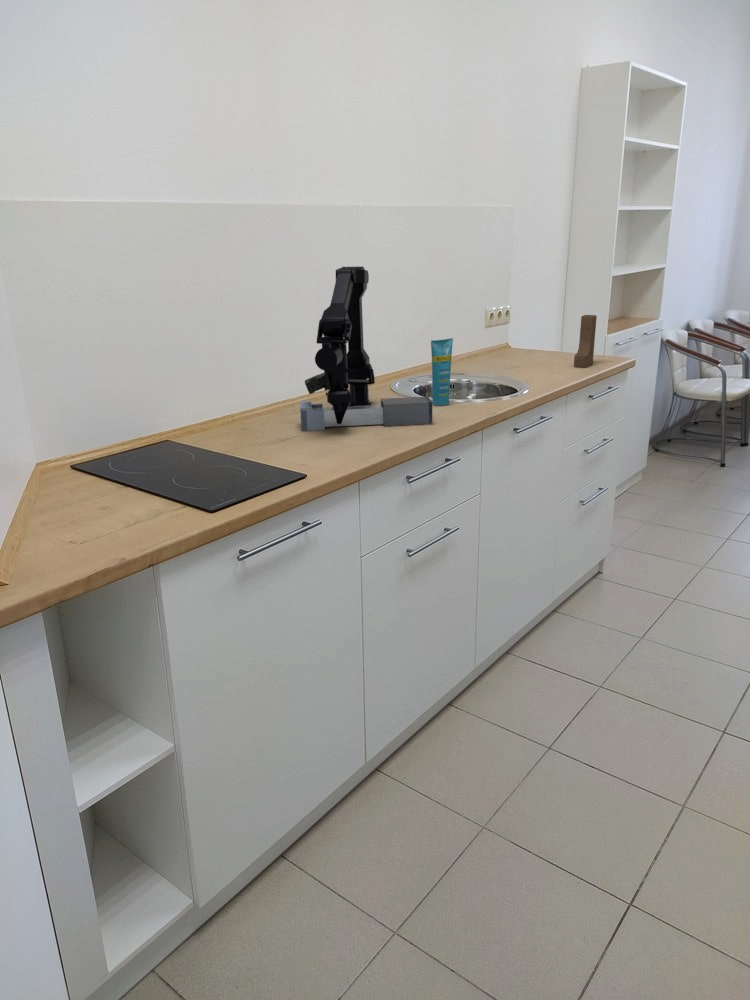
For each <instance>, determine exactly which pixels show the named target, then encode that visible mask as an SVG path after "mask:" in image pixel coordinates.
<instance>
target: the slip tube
mask: <svg viewBox="0 0 750 1000" xmlns="http://www.w3.org/2000/svg"><path fill="white" fill-rule="evenodd" d="M312 409H324V428H331V427H352V426H371V425H373V426H375V425H384V407H383V405H381V404H371V405H356V406H349V405H348V407H347V410H346V412H345V415H344V418H343V420H342V423H341V424H337V421H336V417H335V412H334V408H333V406H327V407H326V406H325V407H321V408H312Z"/></svg>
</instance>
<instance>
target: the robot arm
mask: <svg viewBox="0 0 750 1000" xmlns="http://www.w3.org/2000/svg"><path fill="white" fill-rule="evenodd" d="M369 277H370V276H369V270H367V269H365V266H342V267H339V268H337V269H335V283H334V288H333V293H332V296H331V300H330V305H329V306H328V307H327V308H325V309H324V311H323V313H322V315H321V319H319V321H318V326H317V336H316V344H319V345H320V344H321V348H319V349H318V350H317V352H316V354H315V356H314V362H315V365H316V366H317V368H318V369H320V370H321V371H323V372H322V373H319V374H316V375H315V376H311V377H309V378H306V379H305V380H304V385H305V387H306V390H307V392H308V393H309V395H312V394H314V393H316V392H317V391H320V390H322V389H324V391H327V392H325V396H326V403H328V404H330V405H331V407H333V408H334V412H335V417H336V421H337V424H341V423H342V420H343V418H344V415H345V412H346V410H347V407H348V406H364V405H372V402H371V401H370V398H369V395H370V394H369V386H370V385H371V386H372V385H374V384H375V383H376V381H375V380H376V379H375V372H374V369H373V367H372V363H371V362H370V356H369V355H368V353H367V352H366V350H365V349H364V348H365V347H364V327H363V325H364V323H363V320H364V319H363V297H364V295H365V294H366V291H367V289H368V284H369V280H370V279H369ZM347 345H348V346H347ZM347 348H348V349H347ZM347 350H348V351H347Z"/></svg>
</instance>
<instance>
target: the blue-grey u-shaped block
mask: <svg viewBox="0 0 750 1000" xmlns="http://www.w3.org/2000/svg"><path fill="white" fill-rule="evenodd" d="M321 407H323V403H322V402H321V403H312V400H305V401H304V400H303V401H302V400H301V401H299V409H300V424H301V431H302V432H308V431H310V432H311V431H325V427H324V409H312V408H321Z"/></svg>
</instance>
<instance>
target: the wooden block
mask: <svg viewBox="0 0 750 1000" xmlns="http://www.w3.org/2000/svg"><path fill="white" fill-rule="evenodd" d="M597 317H598V316H597V314H596V315H595V314H584V315H581V316H580V329H579V331H580V332H579V343H578V349H577V352H576V353H575V354H574V357H573V359H574V360H573V367H574V368H580V369H581V368H582V369H586V368H587V367H589V366H592V365H593V363H594V350H595V342H596V341H595V340H596V330H597V329H596V328H597Z"/></svg>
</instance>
